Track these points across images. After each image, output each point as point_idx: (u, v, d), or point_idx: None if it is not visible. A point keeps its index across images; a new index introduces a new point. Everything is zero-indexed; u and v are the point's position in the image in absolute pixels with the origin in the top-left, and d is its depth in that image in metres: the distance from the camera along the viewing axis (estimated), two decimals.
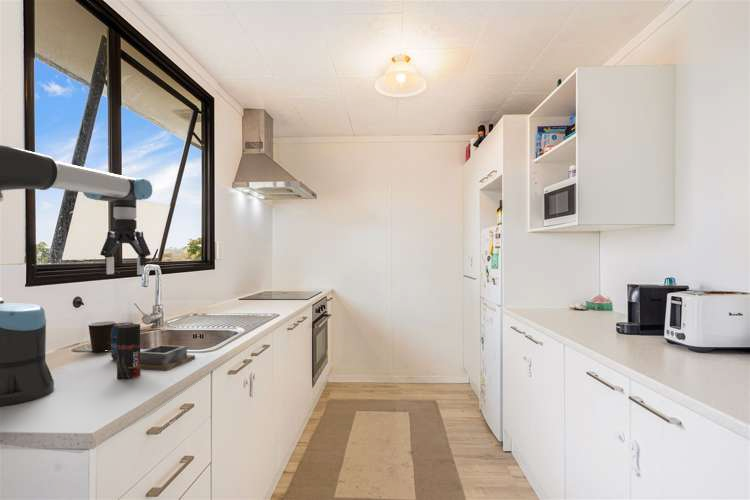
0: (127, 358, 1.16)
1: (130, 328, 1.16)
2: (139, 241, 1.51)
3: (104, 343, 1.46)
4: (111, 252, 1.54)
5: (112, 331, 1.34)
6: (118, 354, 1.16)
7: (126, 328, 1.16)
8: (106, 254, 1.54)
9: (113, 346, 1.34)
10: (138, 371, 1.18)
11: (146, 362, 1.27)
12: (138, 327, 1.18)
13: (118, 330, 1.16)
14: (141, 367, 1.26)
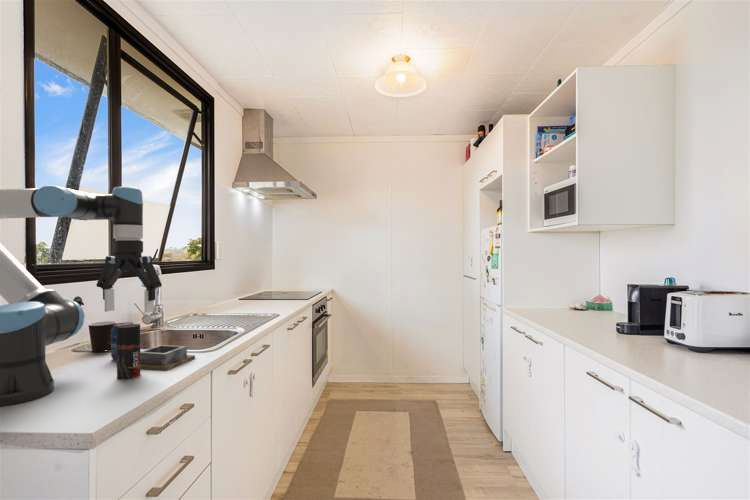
0: (127, 358, 1.16)
1: (130, 328, 1.16)
2: (147, 269, 1.16)
3: (104, 343, 1.46)
4: (110, 283, 1.19)
5: (112, 331, 1.34)
6: (118, 354, 1.16)
7: (126, 328, 1.16)
8: (104, 285, 1.18)
9: (113, 346, 1.34)
10: (138, 371, 1.18)
11: (146, 362, 1.27)
12: (138, 327, 1.18)
13: (118, 330, 1.16)
14: (141, 367, 1.26)
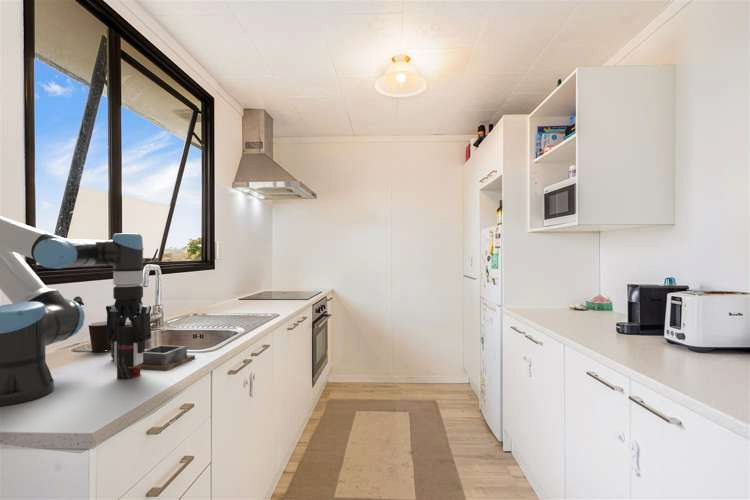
0: (127, 358, 1.16)
1: (130, 328, 1.16)
2: (142, 320, 1.16)
3: (104, 343, 1.46)
4: None
5: None
6: (118, 354, 1.16)
7: (126, 328, 1.16)
8: (113, 337, 1.18)
9: None
10: (138, 371, 1.18)
11: (146, 362, 1.27)
12: None
13: (118, 330, 1.16)
14: (141, 367, 1.26)
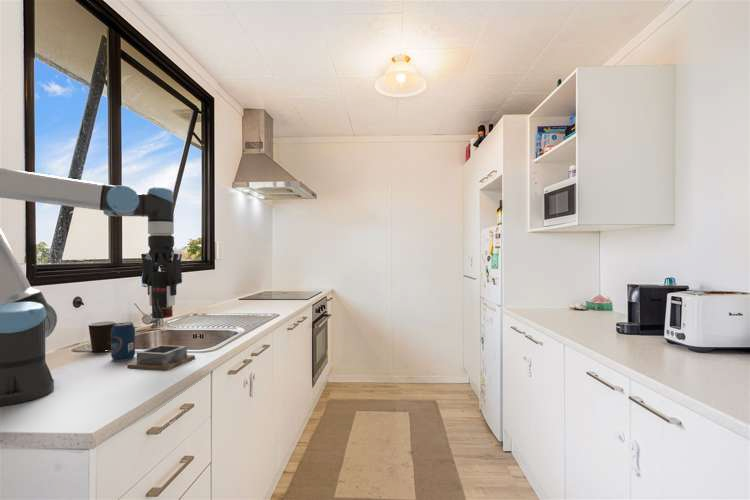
0: (161, 300, 1.29)
1: (163, 273, 1.29)
2: (174, 266, 1.29)
3: (104, 343, 1.46)
4: None
5: (112, 331, 1.34)
6: (153, 296, 1.29)
7: (160, 272, 1.29)
8: (148, 282, 1.31)
9: (113, 346, 1.34)
10: (171, 312, 1.31)
11: (146, 362, 1.27)
12: None
13: (153, 274, 1.29)
14: (141, 367, 1.26)
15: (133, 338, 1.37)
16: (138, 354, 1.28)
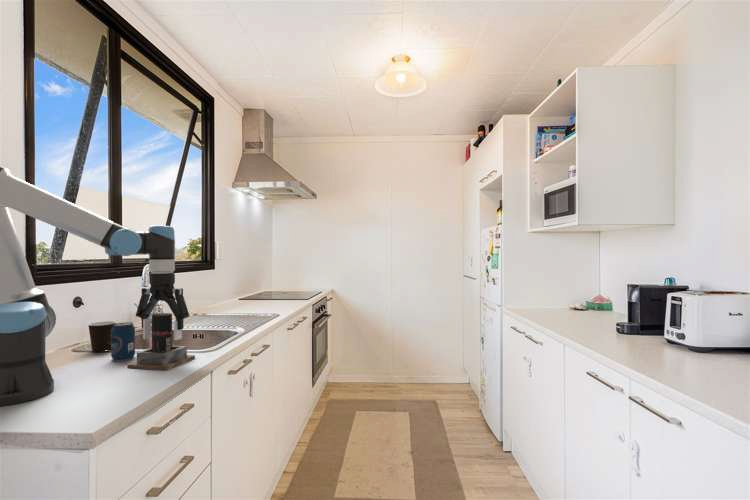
0: (161, 343, 1.29)
1: (164, 316, 1.30)
2: (178, 301, 1.29)
3: (104, 343, 1.46)
4: (148, 312, 1.33)
5: (112, 331, 1.34)
6: (153, 339, 1.30)
7: (160, 316, 1.29)
8: (142, 315, 1.32)
9: (113, 346, 1.34)
10: None
11: (146, 362, 1.27)
12: (170, 316, 1.32)
13: (153, 318, 1.29)
14: (141, 367, 1.26)
15: (133, 338, 1.37)
16: (138, 354, 1.28)
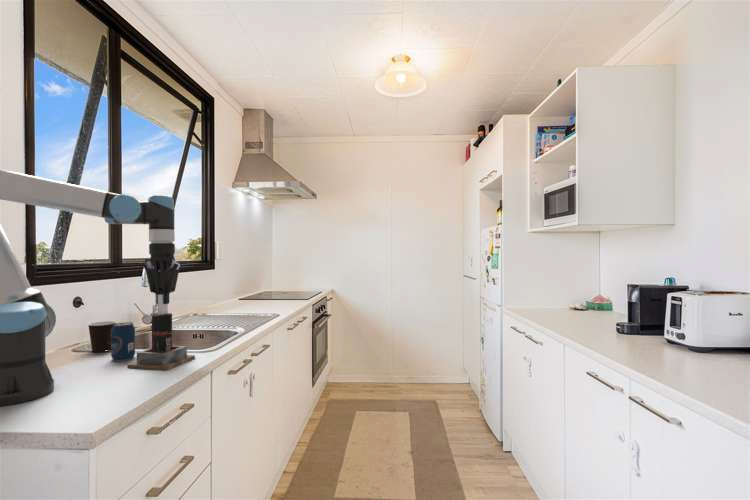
0: (161, 343, 1.29)
1: (164, 316, 1.30)
2: (171, 275, 1.30)
3: (104, 343, 1.46)
4: (160, 286, 1.32)
5: (112, 331, 1.34)
6: (153, 339, 1.29)
7: (160, 316, 1.29)
8: (156, 290, 1.31)
9: (113, 346, 1.34)
10: None
11: (146, 362, 1.27)
12: (170, 316, 1.32)
13: (153, 318, 1.29)
14: (141, 367, 1.26)
15: (133, 338, 1.37)
16: (138, 354, 1.28)
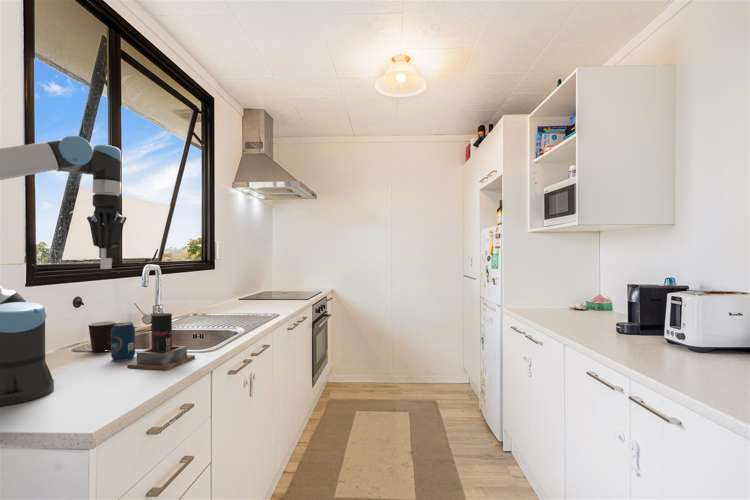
0: (160, 343, 1.29)
1: (163, 316, 1.30)
2: (115, 228, 1.25)
3: (104, 343, 1.46)
4: (103, 239, 1.27)
5: (112, 331, 1.34)
6: (153, 340, 1.29)
7: (160, 316, 1.29)
8: (99, 244, 1.27)
9: (113, 346, 1.34)
10: None
11: (146, 362, 1.27)
12: (170, 316, 1.32)
13: (153, 318, 1.29)
14: (141, 367, 1.26)
15: (133, 338, 1.37)
16: (138, 354, 1.28)
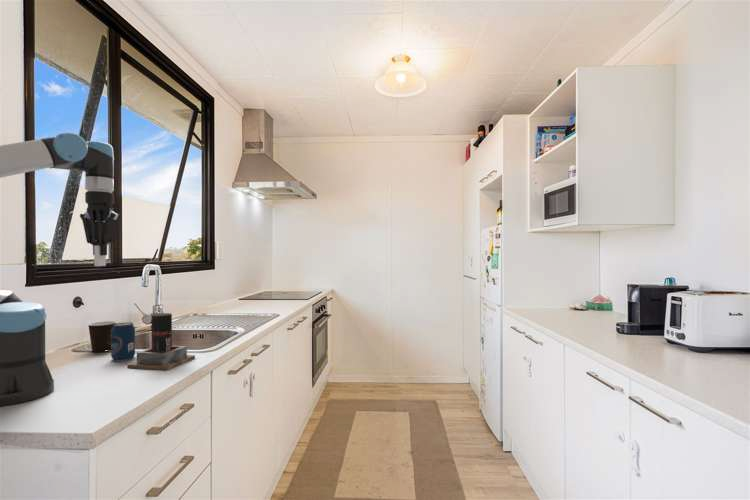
0: (160, 343, 1.29)
1: (163, 316, 1.30)
2: (108, 225, 1.25)
3: (104, 343, 1.46)
4: (97, 236, 1.27)
5: (112, 331, 1.34)
6: (153, 340, 1.29)
7: (160, 316, 1.29)
8: (93, 241, 1.26)
9: (113, 346, 1.34)
10: None
11: (146, 362, 1.27)
12: (170, 316, 1.32)
13: (153, 318, 1.29)
14: (141, 367, 1.26)
15: (133, 338, 1.37)
16: (138, 354, 1.28)
